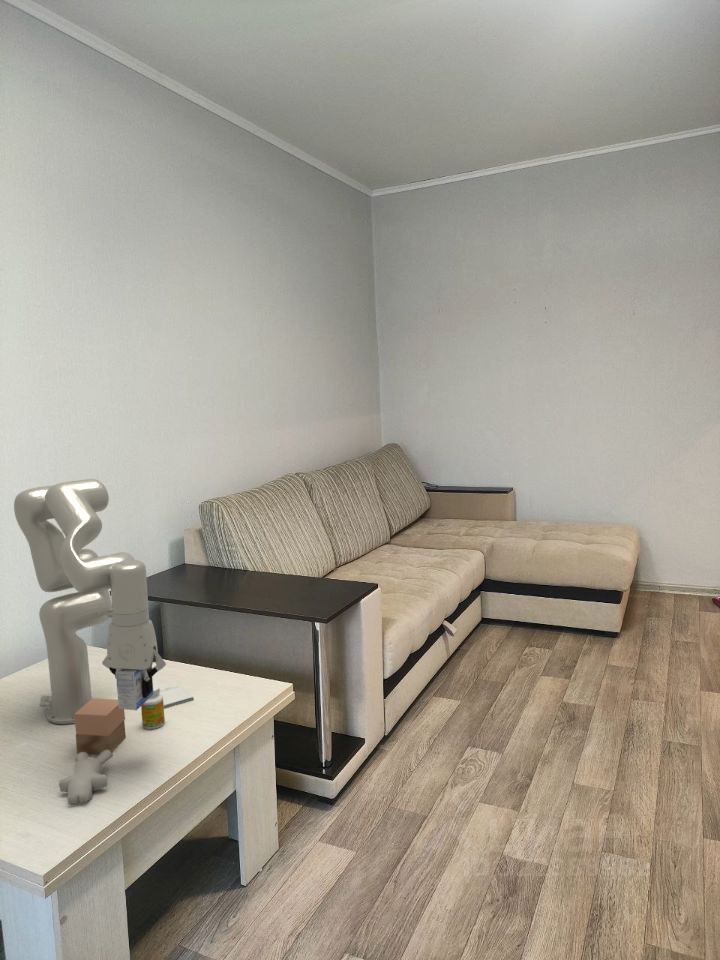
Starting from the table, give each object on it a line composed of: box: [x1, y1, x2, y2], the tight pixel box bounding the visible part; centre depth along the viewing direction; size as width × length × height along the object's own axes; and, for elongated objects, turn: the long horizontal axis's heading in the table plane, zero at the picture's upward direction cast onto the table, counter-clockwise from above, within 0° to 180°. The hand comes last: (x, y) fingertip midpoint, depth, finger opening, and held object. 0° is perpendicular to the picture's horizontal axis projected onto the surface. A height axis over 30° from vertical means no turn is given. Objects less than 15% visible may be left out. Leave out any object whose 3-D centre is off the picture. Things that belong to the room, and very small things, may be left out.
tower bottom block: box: [75, 720, 127, 756], centre depth 164 cm, size 8×8×5 cm
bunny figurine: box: [58, 750, 114, 804], centre depth 148 cm, size 10×5×15 cm
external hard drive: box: [158, 681, 195, 710], centre depth 190 cm, size 2×8×12 cm
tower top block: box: [74, 698, 126, 736], centre depth 164 cm, size 8×8×5 cm
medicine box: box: [115, 669, 154, 711], centre depth 154 cm, size 8×4×9 cm, turn 168°
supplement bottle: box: [140, 684, 166, 730], centre depth 173 cm, size 5×5×10 cm
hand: (135, 693), depth 155 cm, fingers closed on medicine box, 4 cm apart
